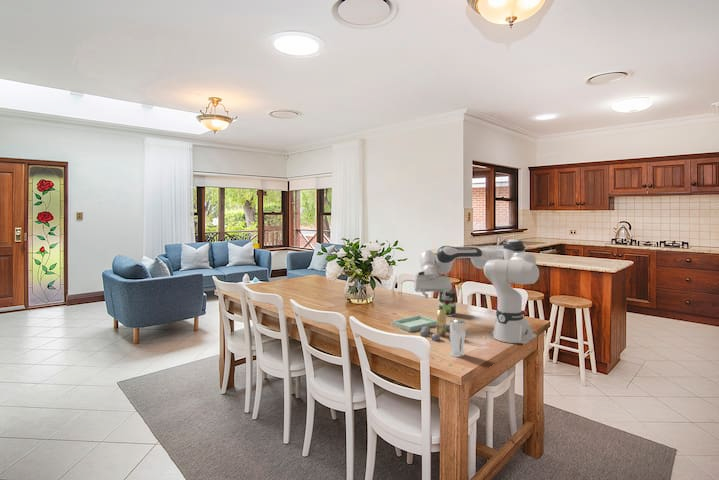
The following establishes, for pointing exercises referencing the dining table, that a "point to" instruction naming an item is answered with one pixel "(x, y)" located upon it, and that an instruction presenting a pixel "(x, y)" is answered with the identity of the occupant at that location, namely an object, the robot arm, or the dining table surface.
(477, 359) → the dining table surface
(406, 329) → the tray
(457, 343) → the beer glass
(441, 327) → the gold metal cylinder
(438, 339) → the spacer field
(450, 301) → the coffee can
